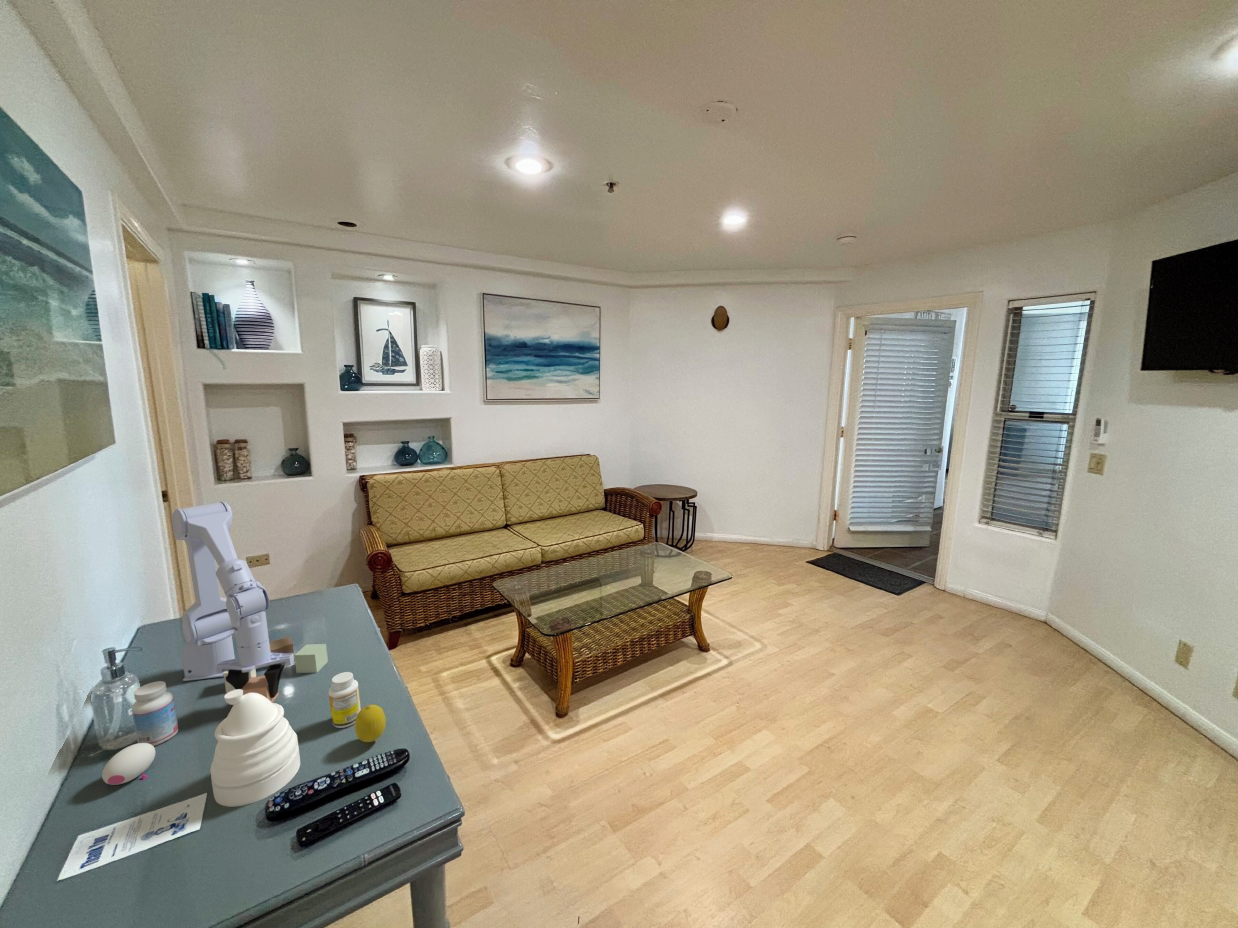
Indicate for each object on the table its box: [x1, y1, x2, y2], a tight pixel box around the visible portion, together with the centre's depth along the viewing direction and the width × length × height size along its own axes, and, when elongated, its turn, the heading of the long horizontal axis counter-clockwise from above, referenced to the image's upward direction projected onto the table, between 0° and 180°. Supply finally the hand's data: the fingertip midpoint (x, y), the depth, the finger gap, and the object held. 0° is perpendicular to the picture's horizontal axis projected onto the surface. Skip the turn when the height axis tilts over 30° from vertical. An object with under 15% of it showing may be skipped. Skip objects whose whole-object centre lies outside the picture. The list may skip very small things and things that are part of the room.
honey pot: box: [209, 689, 301, 808], centre depth 88 cm, size 13×13×18 cm
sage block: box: [294, 643, 329, 674], centre depth 124 cm, size 5×5×5 cm
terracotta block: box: [242, 675, 279, 703], centre depth 110 cm, size 5×5×5 cm
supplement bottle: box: [328, 671, 362, 729], centre depth 103 cm, size 6×6×10 cm
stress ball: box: [101, 742, 156, 786], centre depth 89 cm, size 8×8×7 cm
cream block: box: [223, 669, 257, 694], centre depth 117 cm, size 5×5×5 cm
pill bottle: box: [131, 680, 179, 747], centre depth 98 cm, size 6×6×11 cm
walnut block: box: [269, 636, 295, 662], centre depth 126 cm, size 5×5×5 cm
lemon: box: [354, 704, 387, 743], centre depth 97 cm, size 6×6×8 cm
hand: (260, 696), depth 110 cm, fingers closed on terracotta block, 5 cm apart
